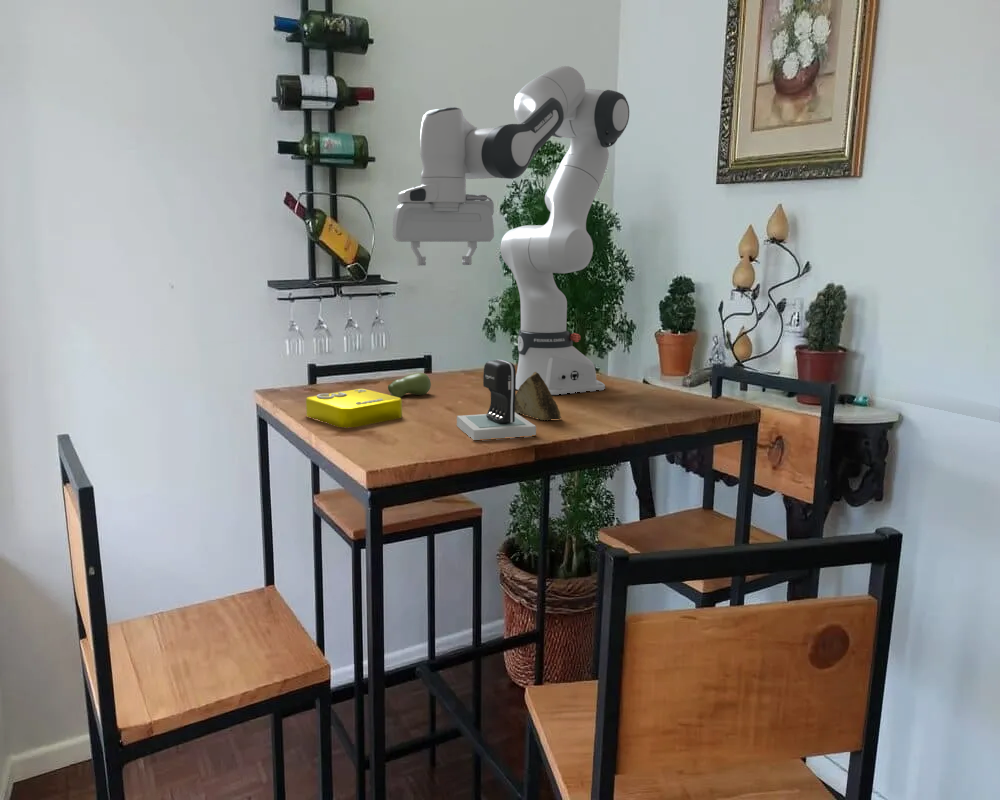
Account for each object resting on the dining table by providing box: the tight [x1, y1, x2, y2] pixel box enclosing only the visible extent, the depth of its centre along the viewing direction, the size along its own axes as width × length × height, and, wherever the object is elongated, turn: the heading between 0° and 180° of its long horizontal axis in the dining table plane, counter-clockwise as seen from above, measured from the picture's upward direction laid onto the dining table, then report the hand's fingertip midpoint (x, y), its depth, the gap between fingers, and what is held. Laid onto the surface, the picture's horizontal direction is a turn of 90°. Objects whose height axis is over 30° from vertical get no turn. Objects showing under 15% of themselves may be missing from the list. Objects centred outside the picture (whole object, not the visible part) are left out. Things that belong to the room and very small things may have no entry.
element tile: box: [305, 388, 403, 429], centre depth 159 cm, size 15×15×5 cm
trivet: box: [456, 412, 537, 441], centre depth 148 cm, size 12×12×2 cm
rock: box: [515, 372, 562, 421], centre depth 161 cm, size 11×9×10 cm
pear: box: [387, 372, 432, 398], centre depth 181 cm, size 6×5×10 cm
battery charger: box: [482, 359, 517, 423], centre depth 146 cm, size 7×4×11 cm, turn 29°
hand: (444, 265), depth 156 cm, fingers open, 8 cm apart
